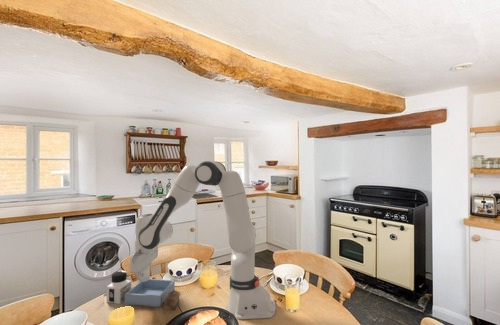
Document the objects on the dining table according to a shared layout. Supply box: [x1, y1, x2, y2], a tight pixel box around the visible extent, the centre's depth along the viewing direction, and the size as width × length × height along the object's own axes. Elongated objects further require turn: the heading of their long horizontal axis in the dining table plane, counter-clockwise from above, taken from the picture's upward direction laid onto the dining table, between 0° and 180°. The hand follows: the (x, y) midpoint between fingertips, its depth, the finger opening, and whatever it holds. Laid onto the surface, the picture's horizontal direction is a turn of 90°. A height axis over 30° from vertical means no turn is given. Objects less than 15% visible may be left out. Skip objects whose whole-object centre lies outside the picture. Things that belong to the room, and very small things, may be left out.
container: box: [106, 270, 132, 305], centre depth 119 cm, size 8×8×13 cm
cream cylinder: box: [138, 264, 151, 282], centre depth 121 cm, size 5×5×7 cm
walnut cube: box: [163, 292, 180, 311], centre depth 112 cm, size 5×5×5 cm
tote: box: [124, 278, 176, 308], centre depth 121 cm, size 18×16×5 cm
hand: (144, 274), depth 121 cm, fingers closed on cream cylinder, 5 cm apart
